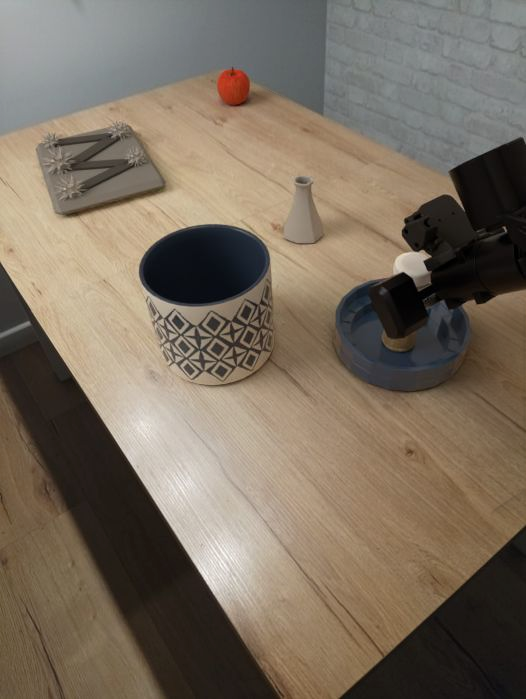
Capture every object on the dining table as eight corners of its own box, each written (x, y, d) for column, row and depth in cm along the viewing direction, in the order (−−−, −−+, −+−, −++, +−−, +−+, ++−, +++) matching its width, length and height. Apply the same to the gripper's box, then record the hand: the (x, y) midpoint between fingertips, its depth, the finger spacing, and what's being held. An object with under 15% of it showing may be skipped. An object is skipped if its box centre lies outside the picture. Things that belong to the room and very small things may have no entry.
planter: (188, 406, 65) (166, 326, 55) (145, 330, 75) (120, 249, 64) (296, 357, 70) (295, 274, 59) (242, 291, 79) (233, 210, 69)
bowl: (490, 359, 68) (500, 335, 64) (385, 414, 63) (390, 391, 59) (405, 286, 78) (410, 262, 75) (309, 329, 73) (310, 305, 70)
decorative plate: (169, 191, 101) (162, 156, 95) (58, 221, 95) (44, 186, 90) (131, 131, 120) (123, 99, 114) (37, 153, 114) (24, 121, 109)
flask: (328, 223, 90) (331, 170, 83) (318, 248, 86) (319, 194, 78) (289, 218, 92) (288, 165, 85) (276, 241, 88) (274, 188, 80)
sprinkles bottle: (375, 345, 70) (388, 266, 60) (390, 324, 72) (404, 246, 62) (407, 358, 68) (425, 279, 58) (421, 337, 70) (441, 258, 60)
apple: (231, 93, 131) (228, 59, 125) (257, 99, 128) (255, 64, 122) (212, 104, 127) (207, 70, 121) (238, 111, 124) (234, 76, 118)
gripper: (528, 158, 53) (428, 206, 67) (393, 223, 46) (314, 261, 61) (568, 257, 54) (461, 284, 68) (442, 335, 47) (353, 346, 62)
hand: (400, 291), depth 65 cm, fingers open, 9 cm apart
